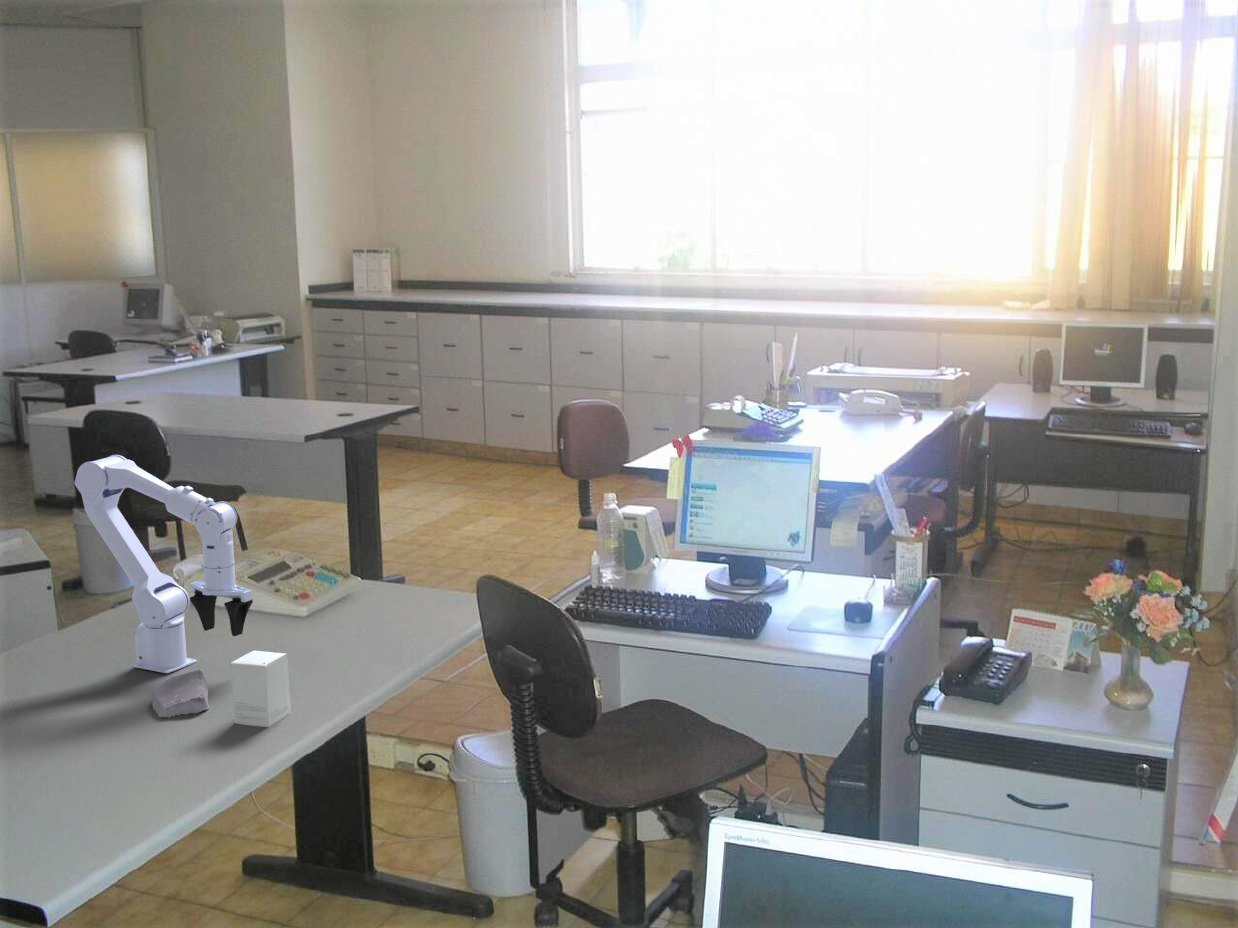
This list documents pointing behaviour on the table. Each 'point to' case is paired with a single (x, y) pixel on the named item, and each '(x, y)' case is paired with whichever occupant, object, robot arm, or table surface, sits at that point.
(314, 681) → the table surface
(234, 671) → the supplement box
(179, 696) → the stone block
